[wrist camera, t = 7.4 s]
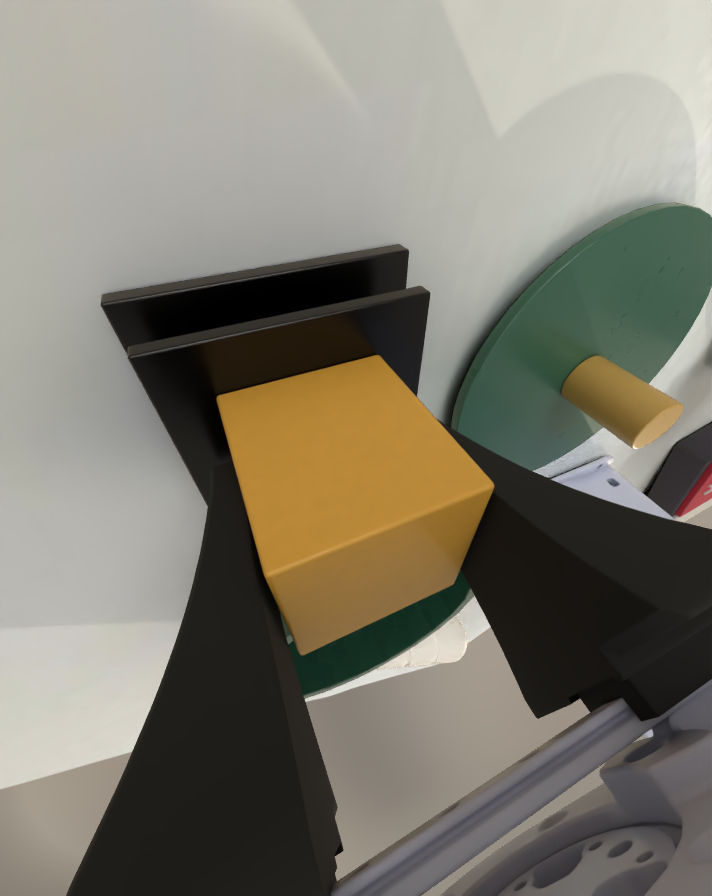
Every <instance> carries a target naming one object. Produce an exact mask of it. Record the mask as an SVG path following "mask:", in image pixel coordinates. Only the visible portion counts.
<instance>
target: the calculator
mask: <svg viewBox="0 0 712 896" xmlns="http://www.w3.org/2000/svg"><path fill="white" fill-rule="evenodd" d="M645 495H646V496H647V497H648V498H649V499H651V500H652V501H653V502H654V503H655V504H657V505H658V506H659V507H660V508H662V509H663V510H664V511H665V512H667V513H668V514H669V515H670V516H671V517H672V518H674V519H675V520H676V521H679V522H684V521H686V520H687V519H689V518H691V517H693V516H694V515H696V514H698V513H699V512H701V511H703V510H704V509H706V508H708V507H709V506H711V505H712V422H711V423H710V424H708V425H706V426H705V427H703V428H701V429H700V430H698V431H696V432H694V433H693V434H691V435H689V436H688V437H686V438H684V439H683V440H681V441H679V442H678V443H677V444H676V445H675V446H674V448H673V450H672V452H671V453H670V455H669V457H668V459H667V461H666V463H665V464H664V466H663V468H662V470H661V472H660V474H659V475H658V477H657V479H656V481H655V483H654V485H653V487H652V488H651V490H650V492H649V493H647V494H645Z"/></svg>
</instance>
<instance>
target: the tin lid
mask: <svg viewBox="0 0 712 896" xmlns="http://www.w3.org/2000/svg"><path fill="white" fill-rule="evenodd" d="M711 287H712V217H711V216H710V215H709V214H708V213H706V212H705V211H703V210H702V209H700V208H697V207H693V206H689V205H684V204H679V203H663V204H655V205H652V206H648V207H644V208H641V209H637V210H635V211H633V212H630V213H628V214H626V215H623V216H621V217H619V218H616V219H615V220H613V221H611V222H609V223H608V224H606V225H604V226H603V227H601V228H599V229H597V230H596V231H594V232H592V233H591V234H590V235H588V236H587V237H586V238H584V239H583V240H581V241H580V242H579V243H577V244H576V245H574V246H573V247H572V248H570V249H569V250H568V251H567V252H566V253H564V254H563V255H562V256H561V257H560V258H558V259H557V260H556V261H555V262H554V263H553V264H551V265H550V266H549V267H548V268H547V269H546V270H545V271H544V272H543V273H542V274H541V275H540V276H539V277H538V278H537V279H536V280H535V281H534V282H533V283H532V284H531V285H530V286H529V287H528V288H527V289H526V290H525V291H524V292H523V293H522V295H521V296H520V297H519V298H518V299H517V300H516V301H515V303H514V304H513V305H512V306H511V307H510V308H509V309H508V311H507V312H506V313H505V315H504V316H503V317H502V319H501V320H500V321H499V323H498V324H497V325H496V327H495V328H494V329H493V331H492V332H491V333H490V335H489V337H488V338H487V340H486V341H485V343H484V344H483V346H482V348H481V349H480V351H479V352H478V354H477V356H476V357H475V359H474V361H473V363H472V365H471V367H470V369H469V371H468V373H467V374H466V377H465V379H464V382H463V384H462V386H461V389H460V391H459V394H458V397H457V400H456V404H455V407H454V410H453V416H452V422H451V428H452V429H454V430H455V431H457V432H459V433H460V434H462V435H464V436H466V437H467V438H469V439H471V440H473V441H474V442H476V443H478V444H480V445H481V446H483V447H485V448H487V449H489V450H491V451H492V452H494V453H496V454H498V455H500V456H502V457H504V458H506V459H508V460H510V461H512V462H514V463H516V464H518V465H520V466H522V467H524V468H526V469H528V470H530V471H534V470H536V469H538V468H540V467H543V466H545V465H547V464H549V463H551V462H552V461H554V460H556V459H558V458H560V457H561V456H563V455H565V454H566V453H568V452H570V451H571V450H573V449H574V448H576V447H577V446H579V445H580V444H582V443H583V442H585V441H586V440H587V439H589V438H590V437H591V436H593V435H594V434H595V433H597V432H598V431H599V430H600V429H602V428H603V427H604V428H606V429H607V430H608V431H610V432H611V433H612V434H614V435H615V436H616V437H618V438H619V439H620V440H622V441H623V442H624V443H626V444H627V445H629V446H630V447H631V448H633V449H638V448H641V447H644V446H646V445H648V444H649V443H651V442H653V441H654V440H656V439H657V438H658V437H660V436H661V435H662V434H663V433H665V432H666V431H667V430H668V429H669V428H670V427H671V426H672V425H673V424H674V423H675V422H676V420H677V419H678V418H679V416H680V415H681V413H682V411H683V408H684V407H683V405H682V404H681V403H680V402H678V401H676V400H674V399H673V398H671V397H669V396H668V395H666V394H664V393H663V392H661V391H659V390H658V389H656V388H654V387H653V386H651V385H649V383H650V382H651V381H652V379H653V378H654V377H655V376H656V375H657V374H658V372H659V371H660V370H661V369H662V368H663V366H664V365H665V364H666V363H667V361H668V360H669V359H670V357H671V356H672V355H673V353H674V352H675V351H676V349H677V348H678V347H679V345H680V344H681V342H682V341H683V339H684V338H685V336H686V335H687V333H688V332H689V330H690V329H691V327H692V325H693V323H694V322H695V320H696V318H697V316H698V315H699V313H700V311H701V309H702V307H703V305H704V303H705V301H706V299H707V297H708V294H709V292H710V289H711Z"/></svg>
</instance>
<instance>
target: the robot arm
mask: <svg viewBox="0 0 712 896" xmlns="http://www.w3.org/2000/svg"><path fill="white" fill-rule="evenodd" d="M438 422H439V423H440V424H441V425H442V426H443V427H444V428H445V429H446V430H447V432H448V433H449V434H450V435H451V436H452V437H453V438H454V439H455V440H456V442H457V443H458V444H459V445H460V446H461V447H462V448H463V449H464V451H465V452H466V453H467V454H468V455H469V456H470V457H471V458H472V459H473V461H474V462H475V463H476V464H477V465H478V466H479V467H480V468H481V470H482V471H483V472H484V473H485V474H486V475H487V476H488V477H489V478H490V480H491V481H492V482H493V484H494V489H493V492H492V494H491V496H490V499H489V501H488V504H487V506H486V508H485V511H484V513H483V516H482V518H481V520H480V523H479V525H478V527H477V530H476V532H475V535H474V537H473V539H472V542H471V544H470V547H469V549H468V551H467V554H466V556H465V559H464V561H463V563H462V566H461V568H460V570H461V572H462V574H463V575H464V577H465V579H466V581H467V582H468V584H469V586H470V588H471V590H472V592H473V593H474V595H475V597H476V599H477V601H478V603H479V605H480V607H481V609H482V610H483V612H484V614H485V616H486V618H487V620H488V622H489V624H490V626H491V628H492V630H493V632H494V634H495V636H496V638H497V640H498V642H499V644H500V646H501V648H502V650H503V652H504V655H505V657H506V659H507V661H508V663H509V665H510V667H511V670H512V672H513V674H514V676H515V678H516V681H517V683H518V685H519V687H520V690H521V692H522V694H523V697H524V699H525V701H526V702H527V704H528V705H529V707H530V709H531V710H532V712H533V713H534V715H535V716H536V718H538V719H539V718H541V717H543V716H545V715H548V714H550V713H552V712H554V711H556V710H559V709H561V708H563V707H566V706H568V705H570V704H572V703H573V702H575V701H576V700H578V699H581V700H582V701H583V703H584V704H585V705H586V707H587V708H588V710H589V711H590V712H591V713H589V714H588V715H586V716H585V717H583V718H582V719H580V720H579V721H577V722H576V723H574V724H573V725H571V726H570V727H568V728H567V729H565V730H564V731H562V732H561V733H559V734H558V735H556V736H555V737H553V738H552V739H551V740H549V741H547V742H546V743H544V744H543V745H541V746H540V747H538V748H537V749H535V750H534V751H532V752H531V753H529V754H528V755H526V756H525V757H523V758H522V759H520V760H519V761H517V762H516V763H514V764H513V765H511V766H510V767H508V768H507V769H505V770H504V771H502V772H501V773H499V774H498V775H496V776H495V777H493V778H492V779H490V780H489V781H487V782H486V783H484V784H483V785H481V786H480V787H478V788H477V789H475V790H474V791H472V792H471V793H469V794H468V795H466V796H465V797H463V798H462V799H460V800H459V801H457V802H456V803H454V804H453V805H451V806H450V807H448V808H447V809H445V810H444V811H442V812H440V813H439V814H437V815H436V816H434V817H433V818H432V819H430V820H428V821H427V822H425V823H424V824H423V825H421V826H420V827H418V828H416V829H415V830H413V831H412V832H410V833H409V834H407V835H406V836H404V837H403V838H402V839H400V840H398V841H397V842H395V843H394V844H393V845H391V846H389V847H388V848H386V849H385V850H384V851H382V852H380V853H379V854H377V855H376V856H374V857H373V858H371V859H370V860H368V861H367V862H365V863H364V864H362V865H361V866H359V867H358V868H356V869H355V870H353V871H352V872H351V873H349V874H347V875H346V876H344V877H343V878H341V879H340V880H338V881H337V880H336V877H335V872H336V869H337V865H336V860H335V856H336V855H338V854H339V853H341V852H342V851H343V846H342V842H341V839H340V835H339V832H338V828H337V824H336V821H335V814H336V811H337V804H336V801H335V797H334V794H333V791H332V788H331V785H330V781H329V778H328V775H327V771H326V768H325V765H324V762H323V759H322V755H321V752H320V749H319V745H318V743H317V739H316V736H315V732H314V729H313V726H312V722H311V719H310V716H309V712H308V709H307V706H306V703H305V699H304V696H303V692H302V689H301V686H300V682H299V679H298V676H297V672H296V669H295V666H294V662H293V659H292V655H291V652H290V649H289V645H288V642H287V639H286V635H285V631H284V627H283V623H282V619H281V614H280V610H279V608H278V605H277V603H276V601H275V599H274V597H273V594H272V592H271V590H270V588H269V585H268V583H267V581H266V579H265V577H264V574H263V570H262V566H261V563H260V559H259V555H258V552H257V548H256V544H255V540H254V537H253V533H252V529H251V526H250V522H249V518H248V515H247V511H246V507H245V503H244V500H243V496H242V492H241V489H240V485H239V481H238V478H237V474H236V470H235V466H234V463H233V461H229V462H226V463H223V464H220V465H216V466H213V467H212V469H211V470H210V490H209V502H208V510H207V518H206V524H205V529H204V535H203V541H202V546H201V551H200V556H199V560H198V564H197V568H196V573H195V577H194V581H193V585H192V589H191V593H190V596H189V600H188V604H187V607H186V610H185V614H184V617H183V620H182V623H181V626H180V630H179V633H178V636H177V639H176V642H175V645H174V648H173V650H172V653H171V656H170V659H169V662H168V664H167V667H166V670H165V673H164V676H163V678H162V681H161V684H160V686H159V689H158V691H157V694H156V697H155V699H154V702H153V704H152V707H151V709H150V711H149V714H148V716H147V718H146V721H145V723H144V726H143V728H142V730H141V733H140V735H139V737H138V740H137V742H136V744H135V747H134V749H133V752H132V754H131V756H130V759H129V761H128V763H127V766H126V768H125V770H124V773H123V775H122V777H121V779H120V781H119V784H118V786H117V788H116V791H115V793H114V795H113V797H112V799H111V801H110V803H109V805H108V807H107V809H106V811H105V814H104V816H103V818H102V820H101V822H100V824H99V826H98V828H97V830H96V833H95V835H94V837H93V839H92V841H91V843H90V845H89V847H88V849H87V852H86V853H85V856H84V858H83V860H82V862H81V864H80V866H79V868H78V870H77V872H76V874H75V877H74V879H73V881H72V883H71V885H70V887H69V890H68V892H67V895H66V896H421V895H423V894H424V893H425V892H427V891H428V890H430V889H431V888H432V887H434V886H435V885H436V884H438V883H439V882H440V881H442V880H443V879H445V878H446V877H447V876H449V875H450V874H452V873H453V872H454V871H456V870H457V869H458V868H460V867H461V866H462V865H464V864H465V863H467V862H468V861H469V860H471V859H472V858H474V857H475V856H476V855H478V854H479V853H481V852H482V851H483V850H485V849H486V848H487V847H489V846H490V845H492V844H493V843H494V842H496V841H497V840H499V839H500V838H501V837H503V836H504V835H505V834H507V833H508V832H510V831H511V830H512V829H514V828H515V827H516V826H518V825H519V824H521V823H522V822H523V821H525V820H526V819H527V818H529V817H530V816H532V815H533V814H534V813H536V812H537V811H538V810H540V809H541V808H543V807H544V806H545V805H547V804H548V803H550V802H551V801H552V800H554V799H555V798H556V797H558V796H559V795H561V794H562V793H563V792H565V791H566V790H567V789H569V788H570V787H571V786H573V785H574V784H576V783H577V782H578V781H580V780H581V779H583V778H584V777H585V776H587V775H588V774H589V773H591V772H592V771H594V770H595V769H596V768H598V767H599V766H601V765H602V764H603V763H605V762H606V761H607V760H608V761H607V762H606V763H605V764H604V766H603V767H602V768H601V769H600V777H601V779H602V780H603V781H604V783H603V784H602V785H600V786H598V787H597V788H595V789H593V790H592V791H590V792H589V793H587V794H585V795H584V796H582V797H580V798H579V799H577V800H575V801H574V802H572V803H571V804H569V805H567V806H566V807H564V808H562V809H561V810H559V811H557V812H556V813H554V814H553V815H551V816H549V817H548V818H546V819H544V820H543V821H541V822H539V823H538V824H536V825H535V826H533V827H531V828H530V829H528V830H527V831H525V832H523V833H522V834H520V835H519V836H517V837H516V838H514V839H513V840H511V841H510V842H508V843H507V844H505V845H504V846H502V847H501V848H500V849H498V850H497V851H495V852H494V853H492V854H491V855H490V856H488V857H487V858H486V859H484V860H483V861H482V862H480V863H479V864H478V865H476V866H475V867H474V868H472V869H471V870H470V871H469V872H467V873H466V874H465V875H464V876H462V877H461V878H460V879H459V880H458V881H456V883H454V884H453V885H452V886H451V887H449V888H448V889H447V890H446V891H445V892H444V893H442V894H441V895H440V896H712V529H708V528H703V527H700V526H696V525H692V524H687V523H683V522H679V521H676V520H675V519H674V518H672V517H671V516H670V515H669V514H668V513H667V512H665V511H664V510H663V509H662V508H660V507H659V506H658V505H657V504H655V503H654V502H653V501H652V500H651V499H649V498H648V497H647V496H646V495H644V494H643V493H642V492H641V491H640V490H638V489H637V488H636V487H635V486H633V485H632V484H631V483H630V482H628V481H627V480H626V479H625V478H624V477H622V476H621V475H620V474H619V473H617V472H616V471H615V470H614V469H612V468H611V467H610V464H611V463H612V461H613V460H614V458H613V457H611V456H610V455H608V456H605V457H603V458H600V459H598V460H596V461H593V462H591V463H588V464H586V465H584V466H581V467H579V468H576V469H574V470H572V471H569V472H567V473H564V474H562V475H560V476H557V477H555V478H552V479H549V478H547V477H544V476H542V475H540V474H537V473H535V472H533V471H530V470H528V469H526V468H524V467H522V466H520V465H518V464H516V463H514V462H512V461H510V460H508V459H506V458H504V457H502V456H500V455H498V454H496V453H494V452H492V451H491V450H489V449H487V448H485V447H483V446H481V445H480V444H478V443H476V442H474V441H473V440H471V439H469V438H467V437H466V436H464V435H462V434H460V433H459V432H457V431H455V430H454V429H452V428H450V427H449V426H447V425H445V424H444V423H442V422H440V421H439V420H438ZM641 736H642V737H643V738H644V739H642V740H639V741H637V742H634V741H635V740H636V739H638V738H639V737H641ZM632 742H633V743H632Z"/></svg>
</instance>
